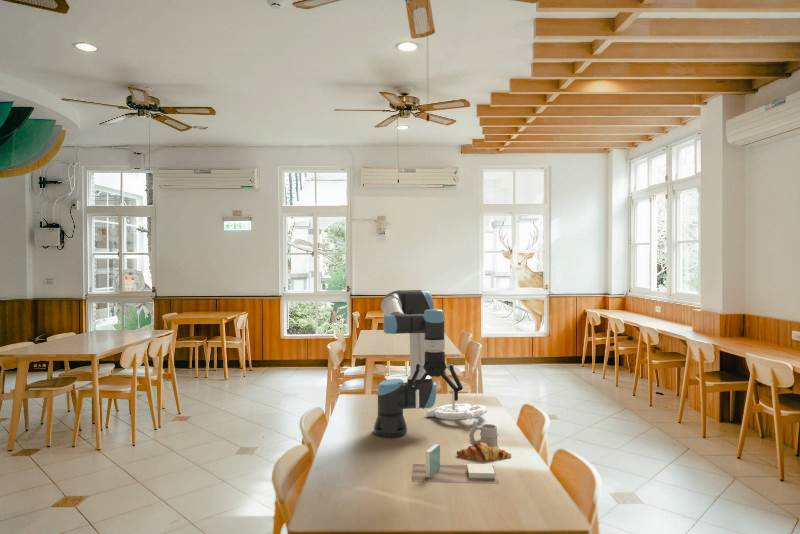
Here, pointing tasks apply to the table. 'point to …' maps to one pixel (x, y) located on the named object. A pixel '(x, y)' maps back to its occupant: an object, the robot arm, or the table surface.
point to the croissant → (483, 452)
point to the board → (448, 475)
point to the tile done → (480, 471)
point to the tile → (432, 460)
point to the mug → (485, 434)
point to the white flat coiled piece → (457, 411)
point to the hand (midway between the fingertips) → (435, 409)
